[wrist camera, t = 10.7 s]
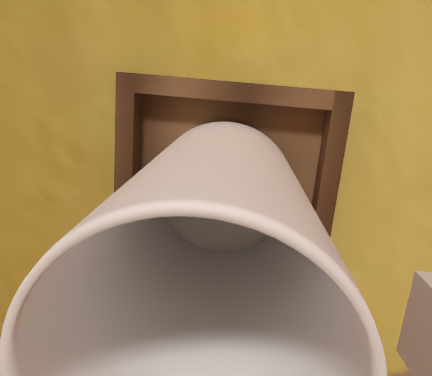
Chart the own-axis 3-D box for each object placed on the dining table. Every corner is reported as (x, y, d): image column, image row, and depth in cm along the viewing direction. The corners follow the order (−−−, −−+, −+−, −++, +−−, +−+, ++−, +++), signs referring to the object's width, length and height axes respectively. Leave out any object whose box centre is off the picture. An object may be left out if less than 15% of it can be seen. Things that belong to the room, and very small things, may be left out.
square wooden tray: (123, 267, 26) (112, 284, 24) (128, 72, 23) (116, 71, 21) (311, 287, 26) (318, 306, 24) (343, 91, 23) (354, 92, 20)
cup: (148, 241, 25) (-5, 501, 9) (164, 110, 23) (-3, 170, 7) (277, 263, 25) (335, 565, 9) (306, 133, 22) (444, 246, 7)
